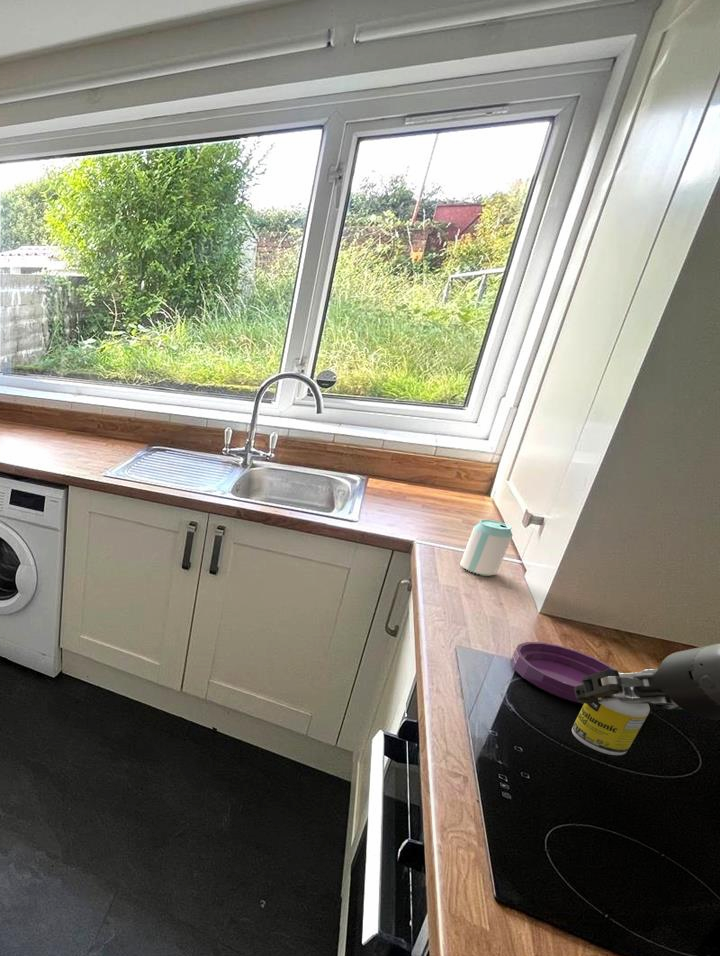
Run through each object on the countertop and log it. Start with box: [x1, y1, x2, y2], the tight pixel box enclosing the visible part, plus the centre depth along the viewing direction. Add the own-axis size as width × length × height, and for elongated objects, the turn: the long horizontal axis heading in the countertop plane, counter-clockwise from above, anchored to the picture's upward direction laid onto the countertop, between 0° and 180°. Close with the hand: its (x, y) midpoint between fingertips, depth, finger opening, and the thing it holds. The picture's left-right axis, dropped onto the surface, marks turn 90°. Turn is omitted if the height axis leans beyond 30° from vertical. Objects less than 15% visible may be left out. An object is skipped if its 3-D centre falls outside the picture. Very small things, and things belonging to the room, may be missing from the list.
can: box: [459, 519, 513, 577], centre depth 136 cm, size 7×7×12 cm
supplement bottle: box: [571, 672, 651, 756], centre depth 75 cm, size 5×5×10 cm
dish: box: [509, 641, 621, 705], centre depth 98 cm, size 14×14×3 cm
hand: (605, 698), depth 76 cm, fingers closed on supplement bottle, 5 cm apart
